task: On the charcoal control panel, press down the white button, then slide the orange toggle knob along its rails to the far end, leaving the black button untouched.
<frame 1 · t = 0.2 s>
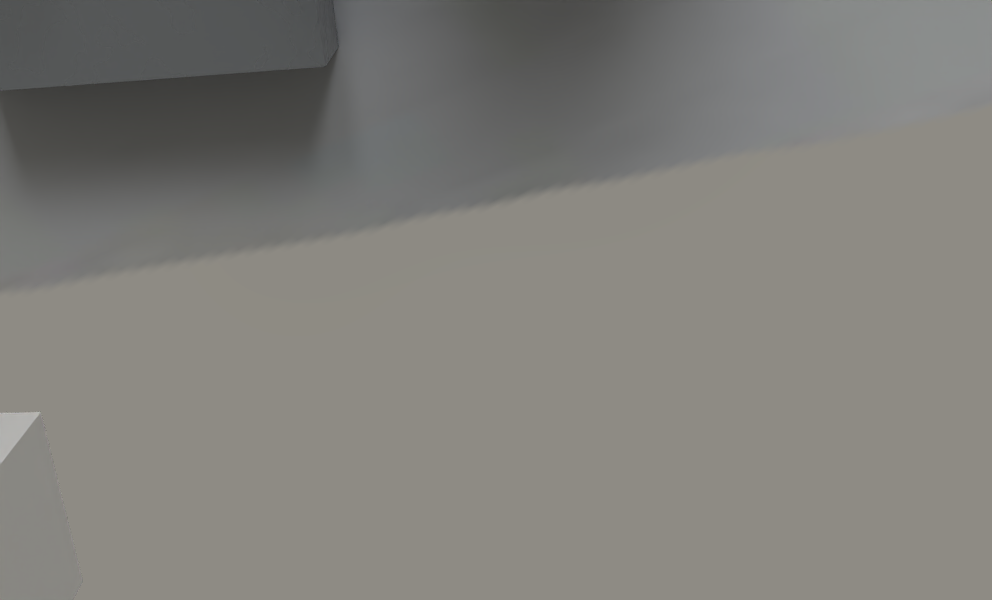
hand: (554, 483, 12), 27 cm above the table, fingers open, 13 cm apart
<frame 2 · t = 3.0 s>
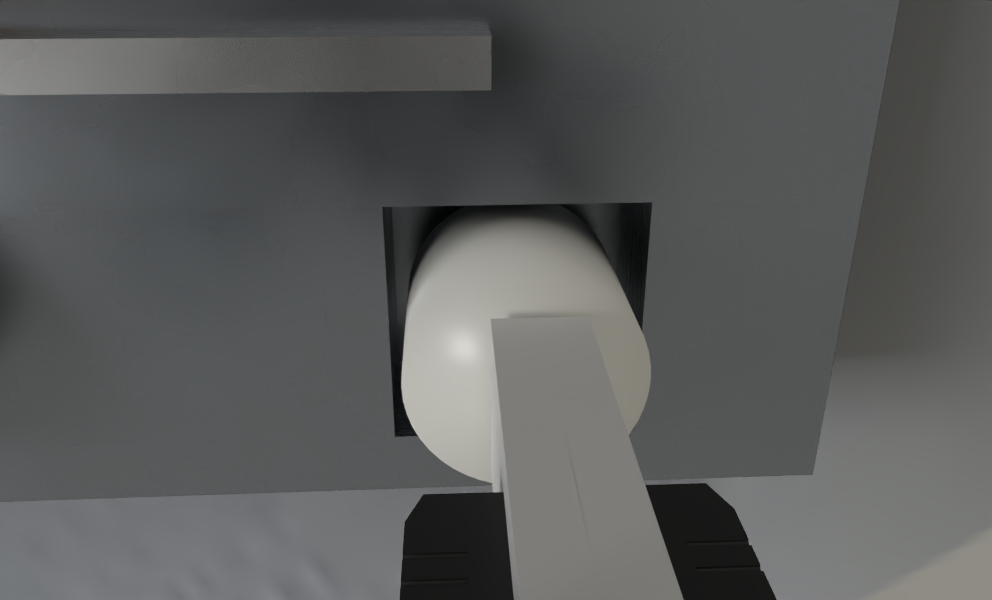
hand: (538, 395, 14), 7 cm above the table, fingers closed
white button: (518, 333, 16), point 5 cm above the table, slide at 0.7 cm, touching gripper
panel: (211, 83, 18), on the table
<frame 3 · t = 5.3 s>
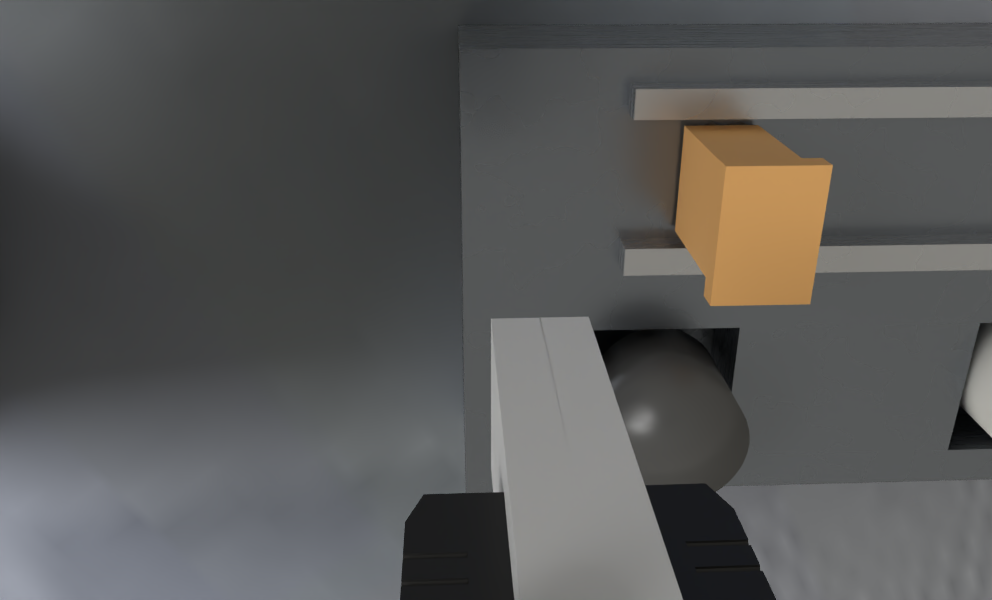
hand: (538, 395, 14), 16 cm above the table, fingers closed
black button: (665, 413, 27), point 6 cm above the table, slide at 0.0 cm
panel: (811, 235, 31), on the table
toggle knob: (740, 205, 22), point 7 cm above the table, slide at 0.0 cm
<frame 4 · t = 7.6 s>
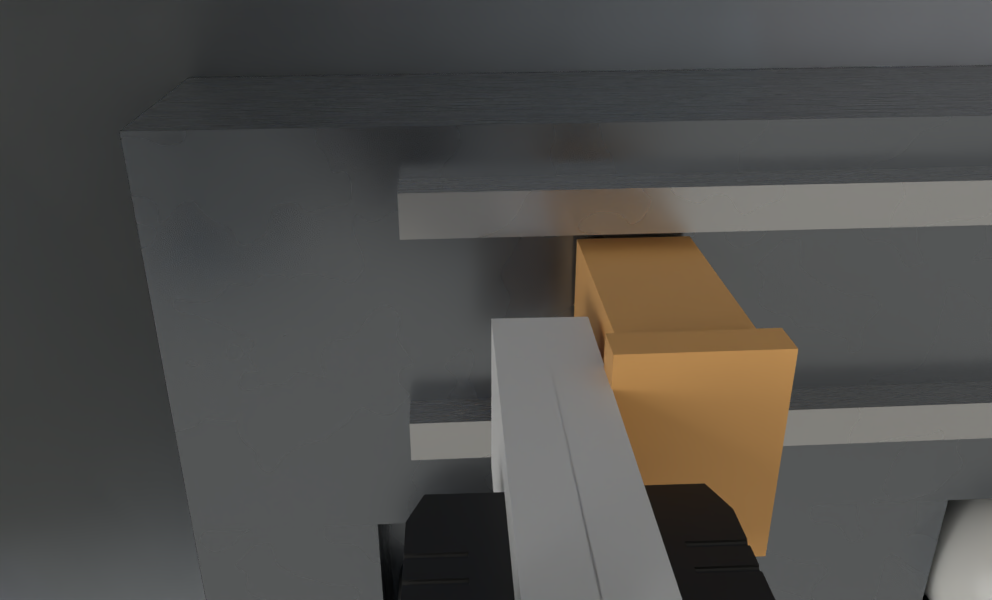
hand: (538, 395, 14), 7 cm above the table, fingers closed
panel: (720, 354, 22), on the table
toggle knob: (656, 377, 14), point 7 cm above the table, slide at 1.6 cm, touching gripper
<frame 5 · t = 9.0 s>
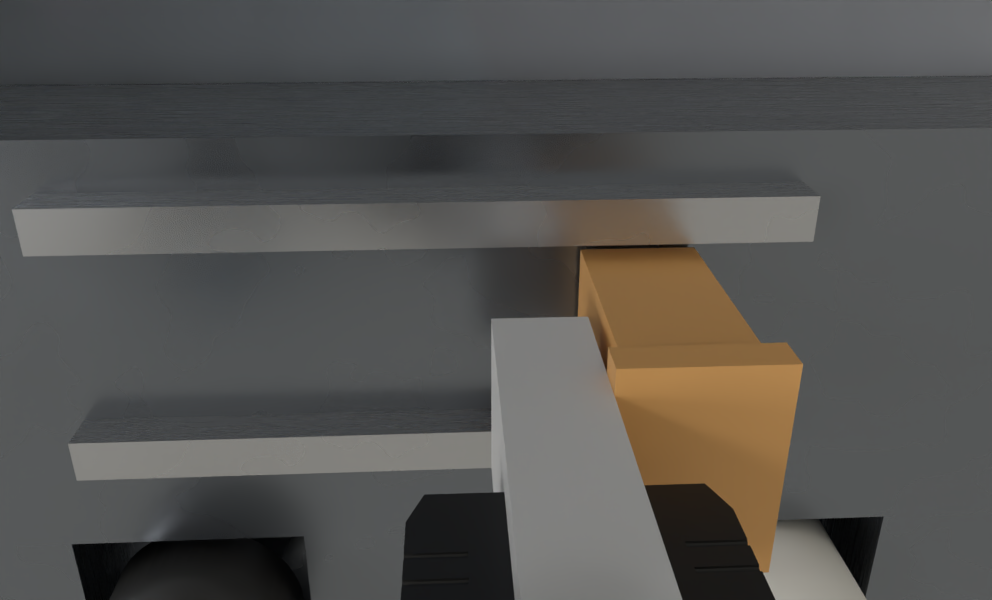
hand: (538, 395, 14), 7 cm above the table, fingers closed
white button: (754, 590, 20), point 4 cm above the table, slide at 1.5 cm
panel: (478, 370, 22), on the table
toggle knob: (659, 390, 14), point 7 cm above the table, slide at 7.7 cm, touching gripper
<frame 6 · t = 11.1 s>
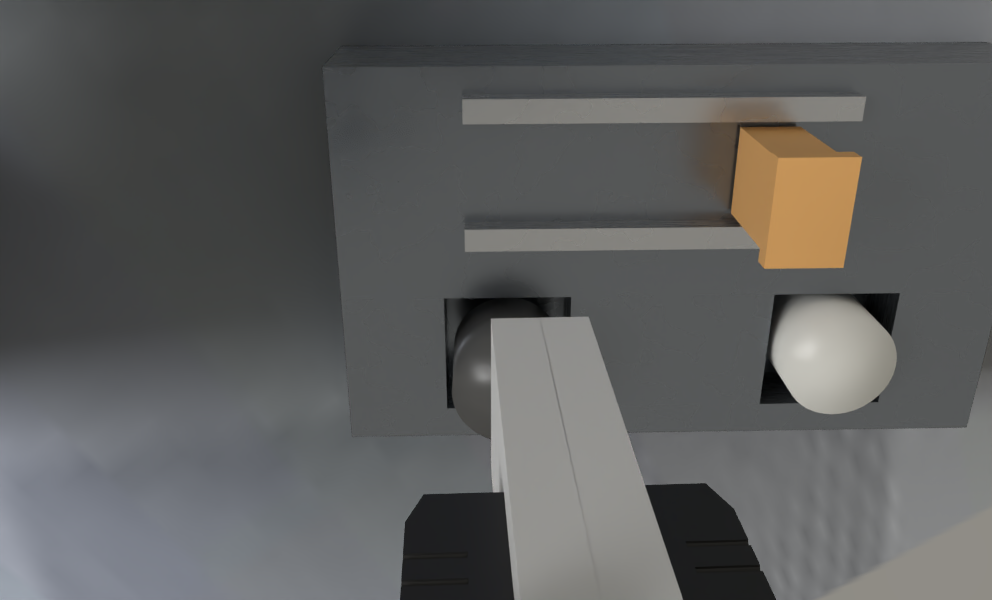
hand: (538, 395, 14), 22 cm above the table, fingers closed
white button: (823, 344, 34), point 4 cm above the table, slide at 1.5 cm
black button: (508, 367, 32), point 6 cm above the table, slide at 0.0 cm
panel: (652, 223, 36), on the table
toggle knob: (786, 190, 28), point 7 cm above the table, slide at 7.7 cm
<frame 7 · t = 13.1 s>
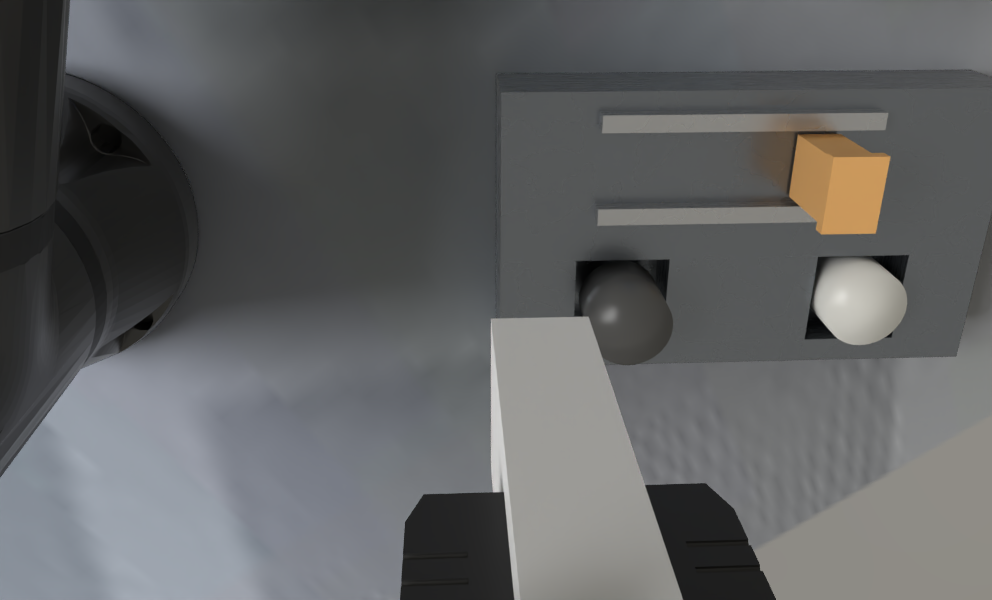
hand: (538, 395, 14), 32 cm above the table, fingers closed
white button: (852, 294, 45), point 4 cm above the table, slide at 1.5 cm
black button: (624, 311, 44), point 6 cm above the table, slide at 0.0 cm
panel: (721, 205, 47), on the table
toggle knob: (833, 180, 40), point 7 cm above the table, slide at 7.7 cm
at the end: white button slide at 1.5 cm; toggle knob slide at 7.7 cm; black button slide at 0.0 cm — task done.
